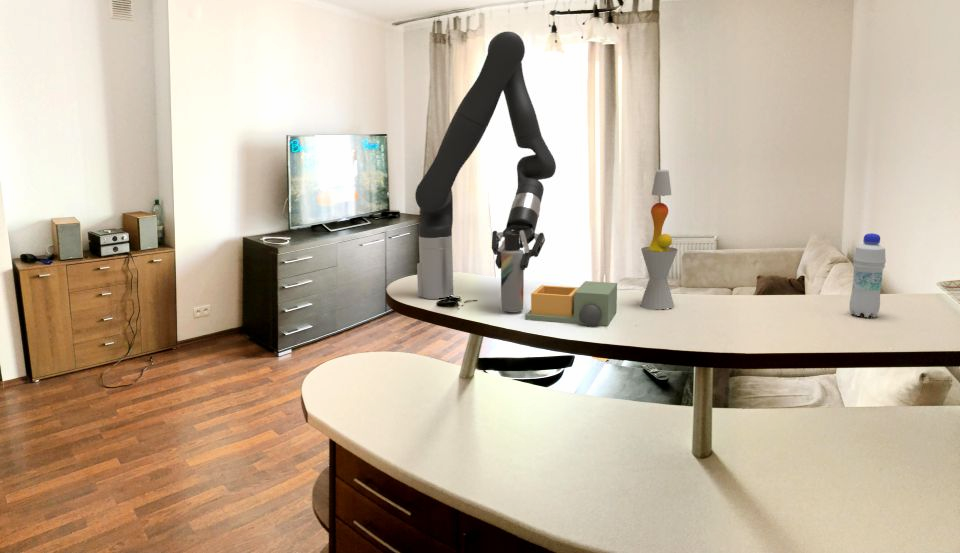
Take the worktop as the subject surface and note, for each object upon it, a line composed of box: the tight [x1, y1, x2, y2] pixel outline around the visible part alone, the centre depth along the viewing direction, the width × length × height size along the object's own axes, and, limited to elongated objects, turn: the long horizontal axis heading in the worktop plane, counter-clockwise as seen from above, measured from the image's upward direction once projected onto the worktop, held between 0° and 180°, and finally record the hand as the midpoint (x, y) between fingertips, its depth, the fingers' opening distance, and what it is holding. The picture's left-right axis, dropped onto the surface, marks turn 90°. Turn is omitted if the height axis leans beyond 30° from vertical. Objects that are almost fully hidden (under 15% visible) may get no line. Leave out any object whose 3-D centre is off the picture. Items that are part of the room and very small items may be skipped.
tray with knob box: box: [524, 280, 618, 328], centre depth 161 cm, size 20×16×8 cm
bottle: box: [849, 232, 887, 318], centre depth 156 cm, size 7×7×20 cm
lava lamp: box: [639, 169, 678, 310], centre depth 167 cm, size 9×9×35 cm
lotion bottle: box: [500, 231, 525, 313], centre depth 165 cm, size 6×6×20 cm
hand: (510, 267), depth 163 cm, fingers closed on lotion bottle, 5 cm apart
